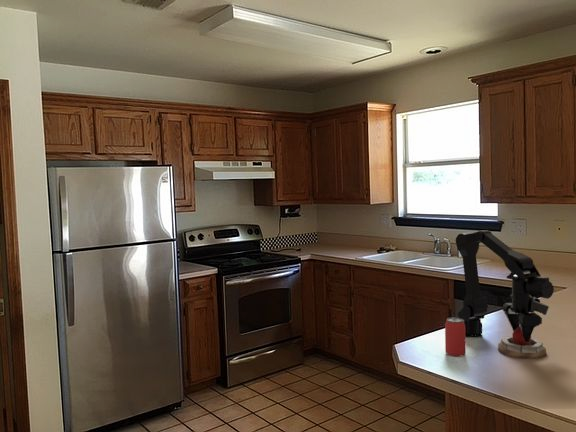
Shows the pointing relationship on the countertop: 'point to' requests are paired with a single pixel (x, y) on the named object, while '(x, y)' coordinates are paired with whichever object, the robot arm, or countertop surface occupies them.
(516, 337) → the onion
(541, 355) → the ring board
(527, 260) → the robot arm
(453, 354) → the beer can
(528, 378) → the countertop surface
